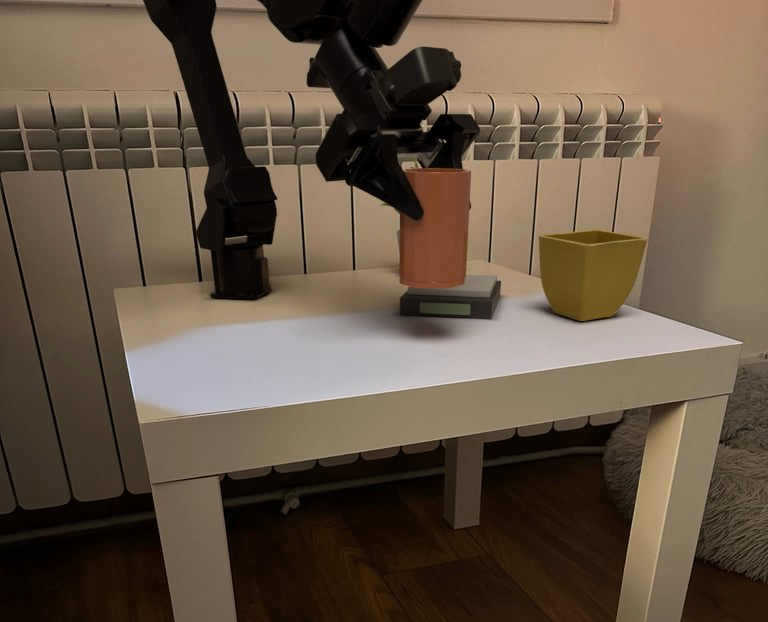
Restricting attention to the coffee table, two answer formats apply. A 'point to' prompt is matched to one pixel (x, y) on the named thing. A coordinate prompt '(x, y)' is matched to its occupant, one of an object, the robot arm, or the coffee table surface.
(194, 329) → the coffee table surface
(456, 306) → the scale
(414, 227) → the cup
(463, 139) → the robot arm
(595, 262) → the flower pot
